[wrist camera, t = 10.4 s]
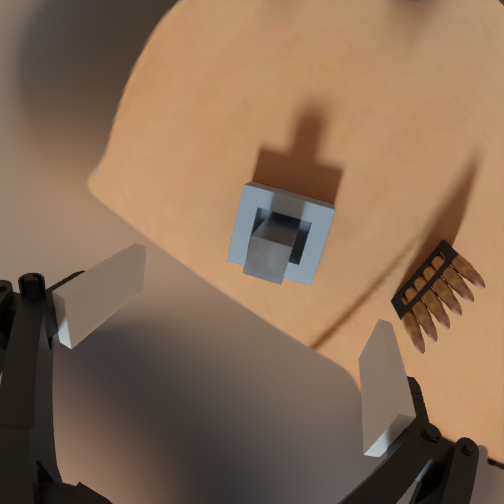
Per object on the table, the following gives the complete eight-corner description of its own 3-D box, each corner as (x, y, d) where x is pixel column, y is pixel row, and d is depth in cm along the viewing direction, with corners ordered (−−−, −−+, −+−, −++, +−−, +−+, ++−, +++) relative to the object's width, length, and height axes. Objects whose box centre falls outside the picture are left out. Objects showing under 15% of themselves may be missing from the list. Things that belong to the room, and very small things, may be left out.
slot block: (252, 181, 36) (243, 184, 32) (333, 204, 34) (335, 210, 31) (236, 250, 39) (227, 260, 35) (312, 272, 38) (310, 286, 34)
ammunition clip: (443, 238, 32) (485, 274, 21) (451, 247, 32) (495, 285, 21) (390, 300, 36) (410, 355, 25) (399, 308, 36) (421, 363, 25)
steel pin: (272, 211, 35) (251, 235, 25) (300, 219, 35) (292, 247, 25) (265, 239, 37) (242, 273, 26) (293, 247, 36) (281, 284, 26)
